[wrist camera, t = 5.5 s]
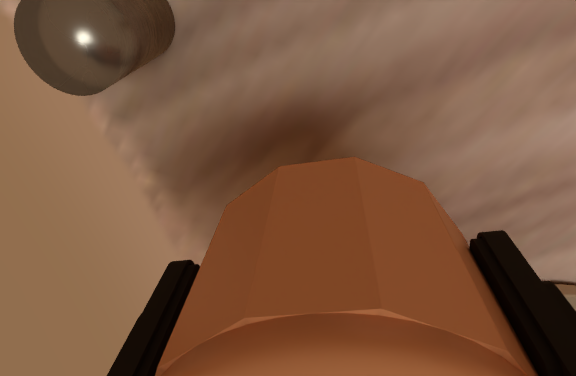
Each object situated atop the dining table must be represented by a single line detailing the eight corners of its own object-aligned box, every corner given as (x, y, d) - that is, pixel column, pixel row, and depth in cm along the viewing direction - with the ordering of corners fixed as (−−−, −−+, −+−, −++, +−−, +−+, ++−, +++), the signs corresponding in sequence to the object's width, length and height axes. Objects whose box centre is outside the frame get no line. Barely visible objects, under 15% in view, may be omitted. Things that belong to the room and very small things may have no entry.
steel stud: (184, 52, 17) (136, 87, 12) (117, 64, 18) (45, 102, 13) (160, -29, 16) (93, -25, 11) (87, -14, 16) (-7, -4, 11)
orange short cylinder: (457, 347, 12) (558, 623, 7) (243, 358, 13) (191, 605, 8) (464, 142, 9) (658, 365, 4) (183, 178, 10) (33, 391, 5)
